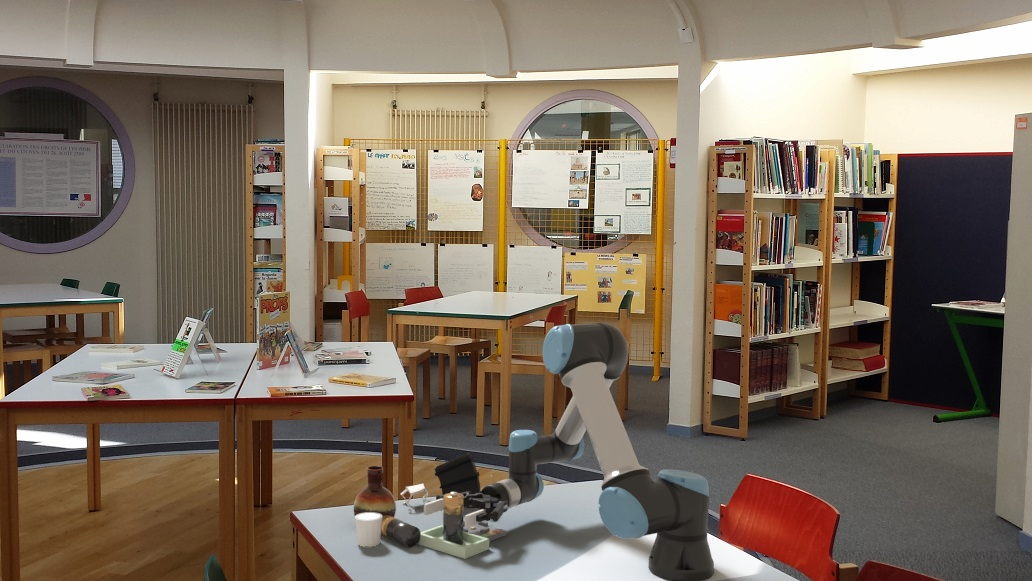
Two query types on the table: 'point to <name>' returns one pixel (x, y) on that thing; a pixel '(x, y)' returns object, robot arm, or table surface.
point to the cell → (453, 517)
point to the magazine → (459, 475)
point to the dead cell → (400, 531)
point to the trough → (467, 549)
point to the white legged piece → (414, 492)
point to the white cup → (368, 528)
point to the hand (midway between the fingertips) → (444, 515)
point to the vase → (375, 495)
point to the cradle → (484, 530)
